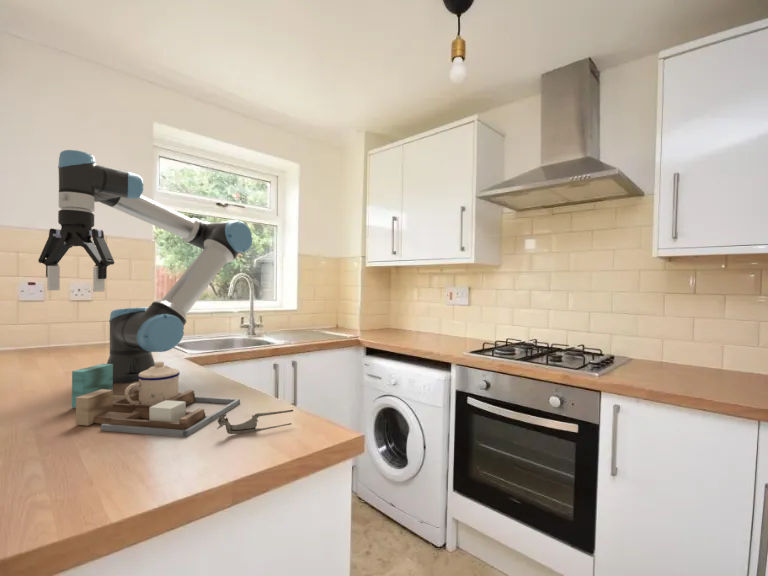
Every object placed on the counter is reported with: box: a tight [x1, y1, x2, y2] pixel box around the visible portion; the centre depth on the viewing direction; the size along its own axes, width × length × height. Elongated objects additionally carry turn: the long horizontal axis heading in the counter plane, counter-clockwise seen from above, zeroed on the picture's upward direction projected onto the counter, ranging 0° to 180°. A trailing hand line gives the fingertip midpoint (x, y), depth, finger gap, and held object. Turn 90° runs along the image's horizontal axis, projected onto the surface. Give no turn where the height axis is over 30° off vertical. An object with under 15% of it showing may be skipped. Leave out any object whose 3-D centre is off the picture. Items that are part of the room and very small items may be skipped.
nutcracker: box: [216, 409, 294, 435], centre depth 84 cm, size 16×1×5 cm, turn 121°
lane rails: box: [100, 395, 241, 438], centre depth 92 cm, size 22×20×1 cm
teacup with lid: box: [124, 361, 180, 406], centre depth 96 cm, size 12×9×12 cm
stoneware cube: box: [148, 400, 187, 423], centre depth 86 cm, size 5×5×5 cm
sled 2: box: [75, 389, 206, 430], centre depth 87 cm, size 8×26×6 cm, turn 83°
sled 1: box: [71, 363, 196, 413], centre depth 99 cm, size 12×26×9 cm, turn 83°
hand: (76, 291), depth 103 cm, fingers open, 13 cm apart
